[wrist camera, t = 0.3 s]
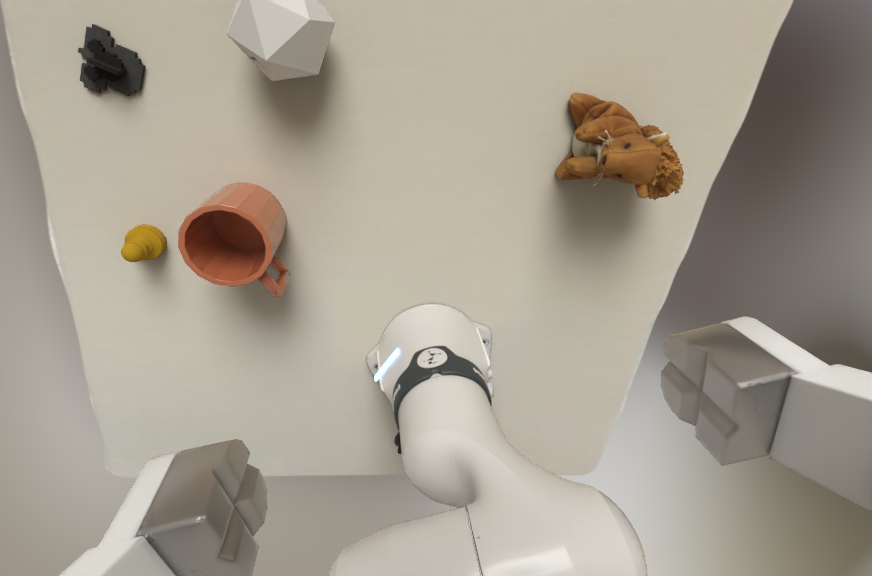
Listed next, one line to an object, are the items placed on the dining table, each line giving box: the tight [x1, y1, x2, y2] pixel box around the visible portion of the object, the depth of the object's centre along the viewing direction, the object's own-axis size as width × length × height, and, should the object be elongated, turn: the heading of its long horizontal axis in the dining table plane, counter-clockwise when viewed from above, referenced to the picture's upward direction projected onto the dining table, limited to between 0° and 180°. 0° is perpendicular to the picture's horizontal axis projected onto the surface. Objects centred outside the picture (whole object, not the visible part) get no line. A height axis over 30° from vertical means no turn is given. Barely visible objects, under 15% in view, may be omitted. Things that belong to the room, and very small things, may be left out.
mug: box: [178, 183, 290, 298], centre depth 49 cm, size 12×9×10 cm
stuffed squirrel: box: [555, 93, 684, 200], centre depth 49 cm, size 10×14×13 cm
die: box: [227, 0, 335, 81], centre depth 41 cm, size 8×9×10 cm
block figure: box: [78, 24, 145, 96], centre depth 42 cm, size 6×2×6 cm
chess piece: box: [121, 225, 167, 262], centre depth 49 cm, size 4×4×5 cm
